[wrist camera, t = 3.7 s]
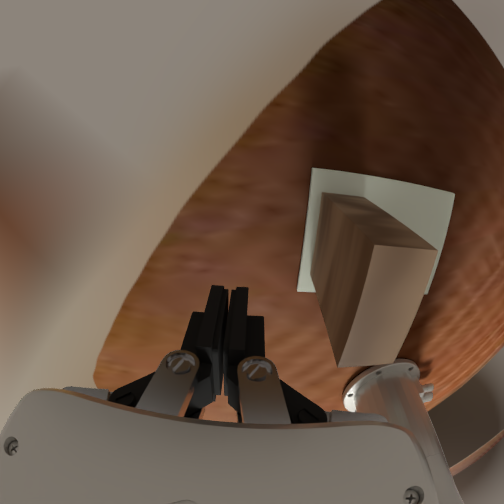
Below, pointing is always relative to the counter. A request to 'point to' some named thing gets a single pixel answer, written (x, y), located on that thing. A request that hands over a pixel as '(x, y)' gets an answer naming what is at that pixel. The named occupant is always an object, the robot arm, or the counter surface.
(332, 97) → the counter surface
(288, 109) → the counter surface
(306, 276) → the mat
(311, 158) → the counter surface
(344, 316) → the slab
